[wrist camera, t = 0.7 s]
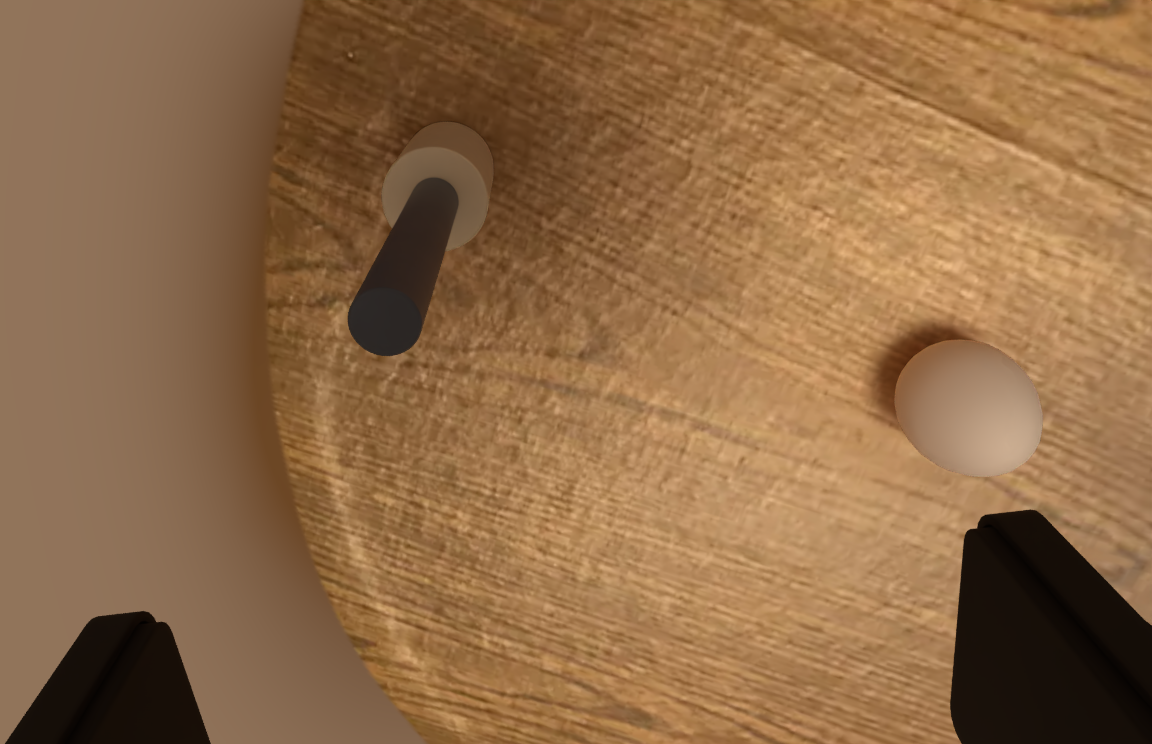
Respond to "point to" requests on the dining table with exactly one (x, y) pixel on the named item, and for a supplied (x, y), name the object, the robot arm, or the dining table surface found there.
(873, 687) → the dining table surface
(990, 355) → the egg
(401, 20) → the dining table surface
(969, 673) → the robot arm
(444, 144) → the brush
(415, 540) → the dining table surface
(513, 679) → the dining table surface
